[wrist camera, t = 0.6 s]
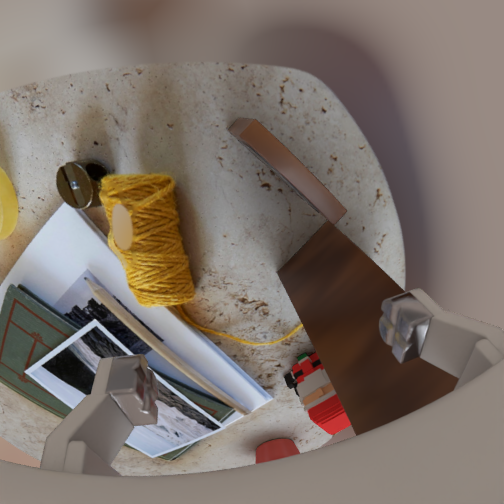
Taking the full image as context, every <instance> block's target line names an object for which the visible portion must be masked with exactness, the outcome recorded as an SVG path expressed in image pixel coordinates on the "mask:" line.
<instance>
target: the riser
mask: <svg viewBox="0 0 504 504" xmlns="http://www.w3.org/2000/svg"><path fill="white" fill-rule="evenodd" d="M277 274H278V276H279V278H280V280H281V282H282V284H283V286H284V288H285V290H286V292H287V294H288V296H289V298H290V300H291V302H292V304H293V306H294V308H295V310H296V312H297V314H298V316H299V318H300V320H301V322H302V324H303V326H304V328H305V330H306V332H307V334H308V336H309V338H310V340H311V342H312V344H313V346H314V349H315V351H316V353H317V355H318V357H319V359H320V361H321V363H322V365H323V367H324V369H325V371H326V373H327V375H328V377H329V379H330V381H331V383H332V386H333V388H334V390H335V392H336V394H337V396H338V398H339V400H340V402H341V404H342V406H343V408H344V411H345V413H346V415H347V417H348V419H349V421H350V423H351V425H352V427H353V429H354V431H355V434H356V436H357V435H360V434H362V433H365V432H368V431H370V430H373V429H375V428H378V427H380V426H383V425H385V424H387V423H390V422H392V421H394V420H396V419H399V418H401V417H403V416H405V415H407V414H409V413H412V412H414V411H416V410H418V409H420V408H422V407H424V406H426V405H428V404H430V403H432V402H434V401H435V400H437V399H439V398H441V397H443V396H445V395H446V394H448V393H450V392H452V391H454V388H455V386H456V384H457V382H458V380H459V378H457V377H455V376H453V375H452V374H450V373H448V372H446V371H444V370H442V369H440V368H438V367H437V366H435V365H433V364H431V363H429V362H427V361H425V360H424V359H422V358H420V357H417V358H415V359H412V360H410V361H407V362H405V363H402V364H400V362H399V361H398V360H397V358H396V357H395V356H394V354H393V353H392V346H390V345H388V344H386V343H385V342H384V340H383V339H382V337H381V335H380V330H379V320H380V318H381V316H382V315H383V314H384V312H383V311H382V310H381V306H382V302H383V300H385V299H388V298H391V297H394V296H397V295H400V294H403V293H406V292H405V291H404V290H403V289H402V288H401V287H400V286H399V285H398V284H397V283H396V282H395V281H394V280H393V279H392V278H391V277H390V276H388V275H387V274H386V273H385V272H384V271H383V270H382V269H381V268H380V267H379V266H378V265H377V264H376V263H375V262H374V261H373V260H372V259H371V258H370V257H368V256H367V255H366V254H365V253H364V252H363V251H362V250H361V249H360V248H359V247H358V246H357V245H355V244H354V243H353V242H352V241H351V240H350V239H349V238H348V237H347V236H346V235H344V234H343V233H342V232H341V231H340V230H339V229H338V228H337V227H335V226H334V225H332V224H331V223H330V222H329V221H327V222H326V223H325V224H324V225H323V226H322V227H321V228H320V229H319V230H318V231H317V232H316V233H315V234H314V235H313V236H312V237H311V238H310V240H309V241H308V242H307V243H306V244H305V245H304V246H303V247H302V248H301V249H300V250H299V251H298V252H297V253H296V254H295V255H294V256H293V257H292V258H291V259H290V260H289V261H288V262H287V263H286V264H285V265H284V266H283V267H282V268H281V269H280V270H279V271H278V272H277Z"/></svg>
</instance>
